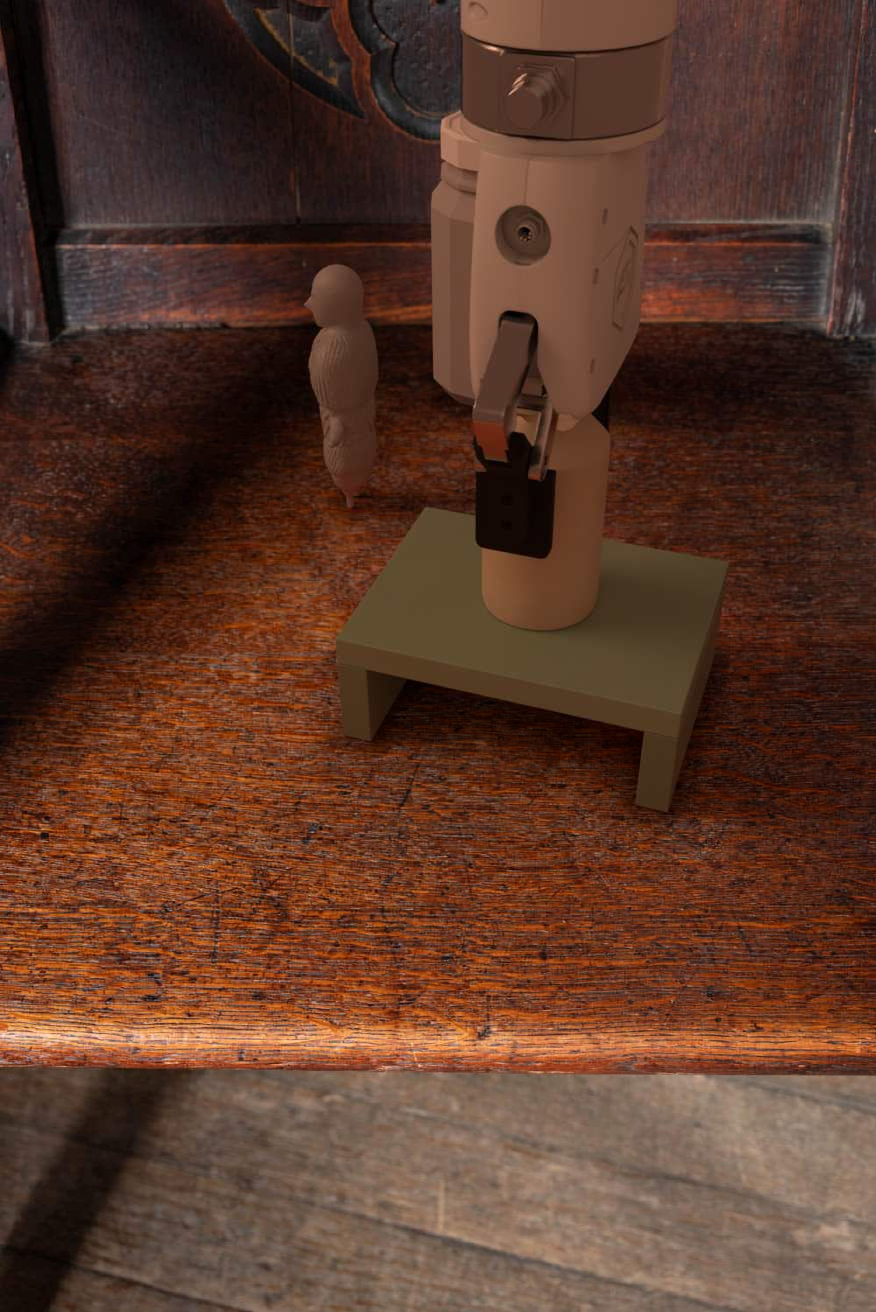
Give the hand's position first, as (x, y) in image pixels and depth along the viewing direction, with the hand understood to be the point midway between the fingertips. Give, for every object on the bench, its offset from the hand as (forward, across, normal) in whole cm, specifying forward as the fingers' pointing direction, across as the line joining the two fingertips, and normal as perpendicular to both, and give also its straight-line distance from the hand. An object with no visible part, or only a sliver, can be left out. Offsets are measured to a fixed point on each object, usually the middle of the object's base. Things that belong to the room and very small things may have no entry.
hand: (545, 492), depth 56 cm
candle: (+6, 0, 0) cm, 6 cm away
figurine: (+12, +14, +16) cm, 24 cm away
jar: (+12, +32, +12) cm, 36 cm away
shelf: (+12, 0, 0) cm, 12 cm away
